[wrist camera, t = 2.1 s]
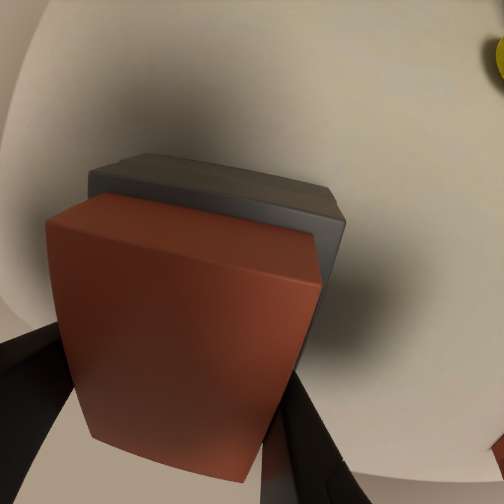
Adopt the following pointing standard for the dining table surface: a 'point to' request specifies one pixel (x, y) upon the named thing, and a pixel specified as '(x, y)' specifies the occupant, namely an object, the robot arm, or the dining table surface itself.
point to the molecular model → (500, 57)
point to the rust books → (499, 454)
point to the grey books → (231, 199)
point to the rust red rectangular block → (180, 326)
